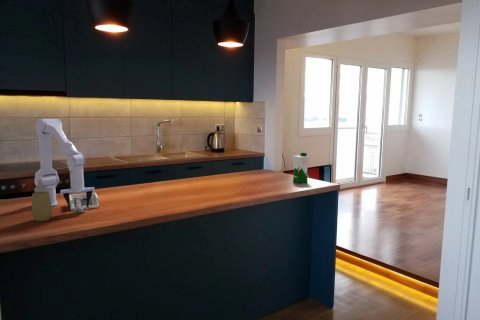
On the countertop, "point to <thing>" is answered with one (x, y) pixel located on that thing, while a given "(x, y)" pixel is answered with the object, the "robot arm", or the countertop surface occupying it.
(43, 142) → the robot arm
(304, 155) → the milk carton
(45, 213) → the squeeze bottle
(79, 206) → the steel plug
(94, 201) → the walled box
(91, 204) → the inlet socket
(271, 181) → the countertop surface
